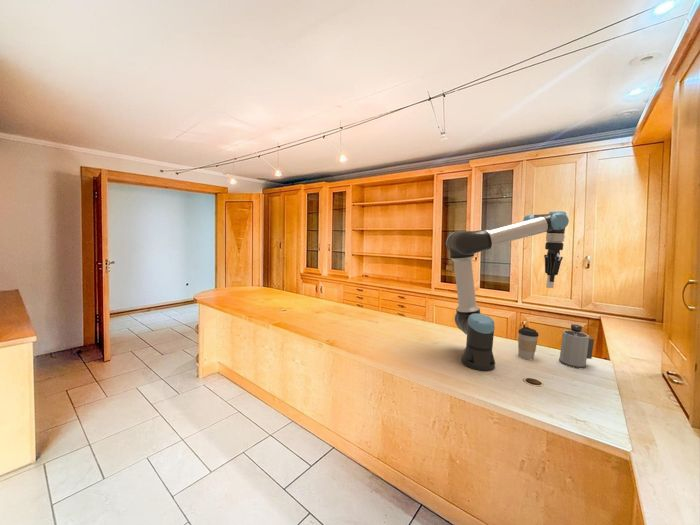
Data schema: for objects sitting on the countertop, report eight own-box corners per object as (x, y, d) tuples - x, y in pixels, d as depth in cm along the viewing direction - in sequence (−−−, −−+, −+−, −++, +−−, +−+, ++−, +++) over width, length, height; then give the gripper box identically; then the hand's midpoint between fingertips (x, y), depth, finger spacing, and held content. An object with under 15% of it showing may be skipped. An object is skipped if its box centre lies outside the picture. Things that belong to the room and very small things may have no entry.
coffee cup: (539, 361, 149) (542, 332, 148) (519, 359, 151) (522, 330, 149) (531, 354, 158) (534, 327, 157) (513, 352, 160) (516, 325, 158)
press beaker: (566, 367, 143) (570, 336, 142) (554, 358, 154) (557, 329, 152) (597, 370, 142) (601, 338, 140) (582, 360, 152) (586, 331, 151)
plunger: (569, 357, 145) (573, 327, 143) (561, 351, 152) (564, 322, 150) (585, 359, 144) (589, 328, 142) (576, 353, 151) (579, 324, 149)
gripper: (570, 242, 144) (564, 290, 146) (555, 241, 157) (550, 285, 159) (553, 242, 145) (548, 289, 147) (540, 241, 158) (535, 285, 160)
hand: (549, 287), depth 153 cm, fingers closed
